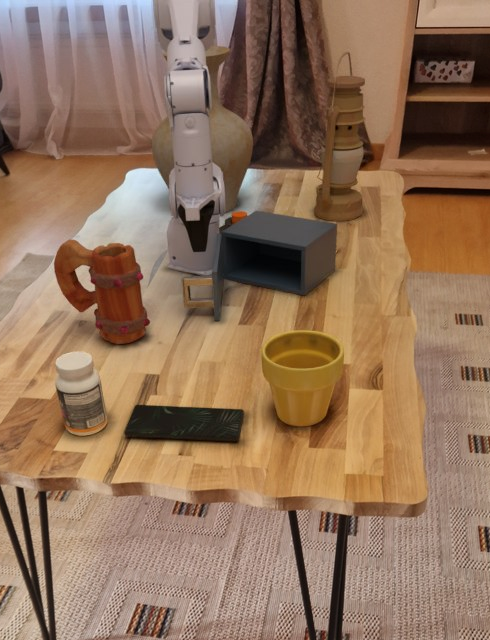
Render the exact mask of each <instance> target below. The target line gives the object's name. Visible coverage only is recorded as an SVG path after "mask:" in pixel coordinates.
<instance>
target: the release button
mask: <svg viewBox="0 0 490 640" xmlns="http://www.w3.org/2000/svg"><path fill="white" fill-rule="evenodd" d="M247 216H248V212H246V211H244V210H238V211H237V210H236V211H233V212H232V213H231V217H232V223H234V224H235V223H237V222H238V221H240V220H242V219H243V218H245V217H247Z"/></svg>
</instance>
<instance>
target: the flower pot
mask: <svg viewBox="0 0 490 640" xmlns="http://www.w3.org/2000/svg"><path fill="white" fill-rule="evenodd" d="M260 356H261V369H262V372H261V373H262V375H263V378H264V379H265V381H266V382H268V384H269V389H270V392H271V396H272V400H273V404H274V407H275V408H274V409H275V412H276V415H277V418H278V419H279V420H280V421H281V422H283V423H284V424H286V425H288V426H293V427H309V426H313V425H316V424H319V423H320V422H322V421H323V420H324V419H325V417H326V416H327V414H328V411H329V407H330V402H331V400H332V397H333V394H334V390H335V387H336V383H337V382H339V380H340V379H341V377H342V376H343V371H344V362H345V348H344V345H343V344H342V343H341V341H340V340H339V339H338V338H336V337H335V336H333V335H331V334H329V333H325V332H322V331H318V330H310V329H309V330H308V329H299V330H298V329H296V330H290V331H285V332H280V333H278V334H275V335H273V336H272V337H270V338H269V339H267V340H266V342H264V344H263V345H262V347H261V353H260Z"/></svg>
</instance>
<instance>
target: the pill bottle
mask: <svg viewBox="0 0 490 640" xmlns="http://www.w3.org/2000/svg"><path fill="white" fill-rule="evenodd" d="M54 364H55V369H56V372H57V374H58V375H57V376H56V378H55V383H54V385H55V389H56V393H57V398H58V402H59V406H60V407H59V408H60V411H61V414H62V419H63V424H64V427H65V429H66V431H67V432H68V433H70V434H72V435H75V436H80V437H81V436H90V435H95V434H96V433H99V432H100V431H102V430H103V429H105V427H106V425H107V424H108V415H107V409H106V403H105V398H104V393H103V392H104V391H103V387H102V379H101V376H100V373H98V371H97V370H96V369H94V368H95V364H94V360H93V356H92V355H91V354H90V353H88V352H86V351H82V350H81V351H80V350H79V351H78V350H75V351H70V352H67V353H66V352H65V353H63V354H61V355H60V356H58V357H57V358H56V359H55V363H54Z"/></svg>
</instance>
